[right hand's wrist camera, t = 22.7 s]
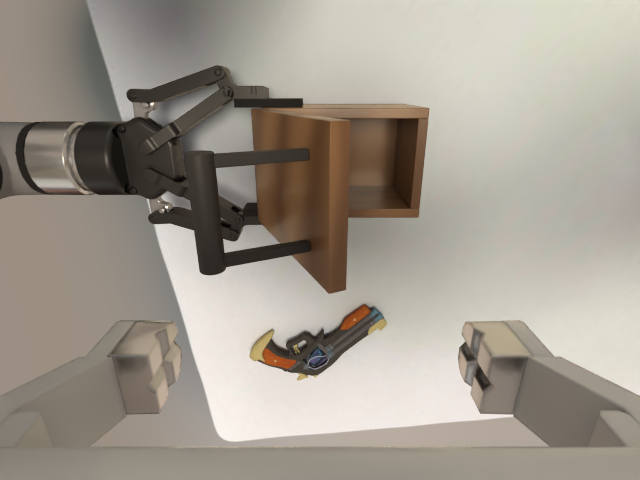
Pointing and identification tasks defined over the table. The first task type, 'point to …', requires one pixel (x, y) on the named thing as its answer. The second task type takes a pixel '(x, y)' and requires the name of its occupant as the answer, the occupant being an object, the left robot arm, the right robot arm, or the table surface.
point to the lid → (282, 195)
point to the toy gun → (318, 345)
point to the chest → (380, 155)
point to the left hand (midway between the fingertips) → (303, 158)
